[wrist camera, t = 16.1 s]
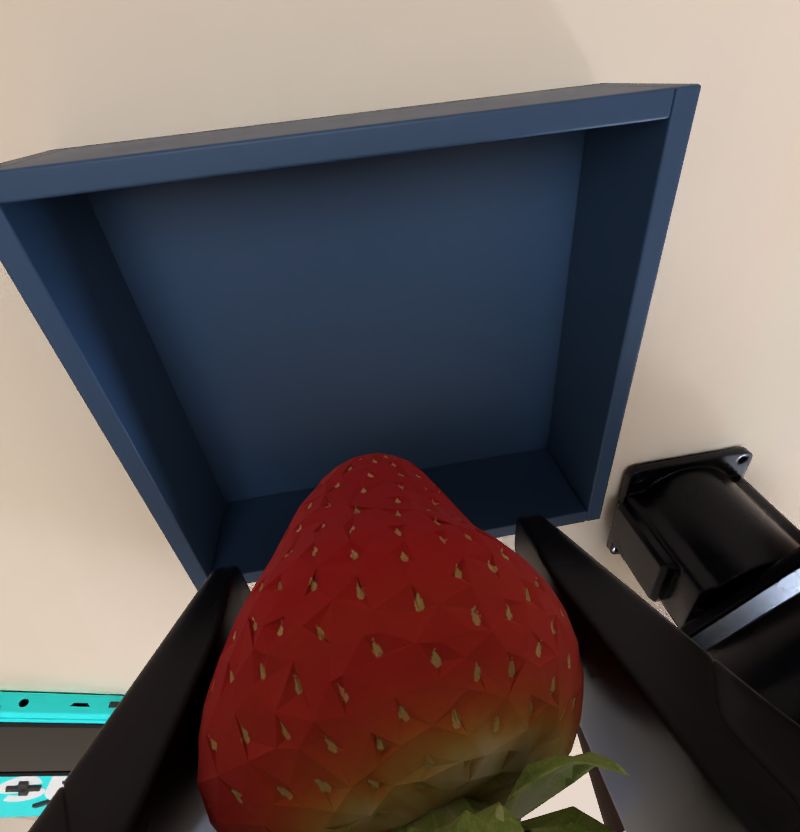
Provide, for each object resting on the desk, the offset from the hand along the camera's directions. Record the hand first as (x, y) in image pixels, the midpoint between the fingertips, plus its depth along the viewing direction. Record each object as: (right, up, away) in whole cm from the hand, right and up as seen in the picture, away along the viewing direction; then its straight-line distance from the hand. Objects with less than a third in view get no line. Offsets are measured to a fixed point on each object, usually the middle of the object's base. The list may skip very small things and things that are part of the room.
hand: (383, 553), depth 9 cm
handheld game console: (-22, -20, +23) cm, 38 cm away
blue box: (-1, +5, +9) cm, 10 cm away
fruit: (0, +1, +2) cm, 2 cm away
